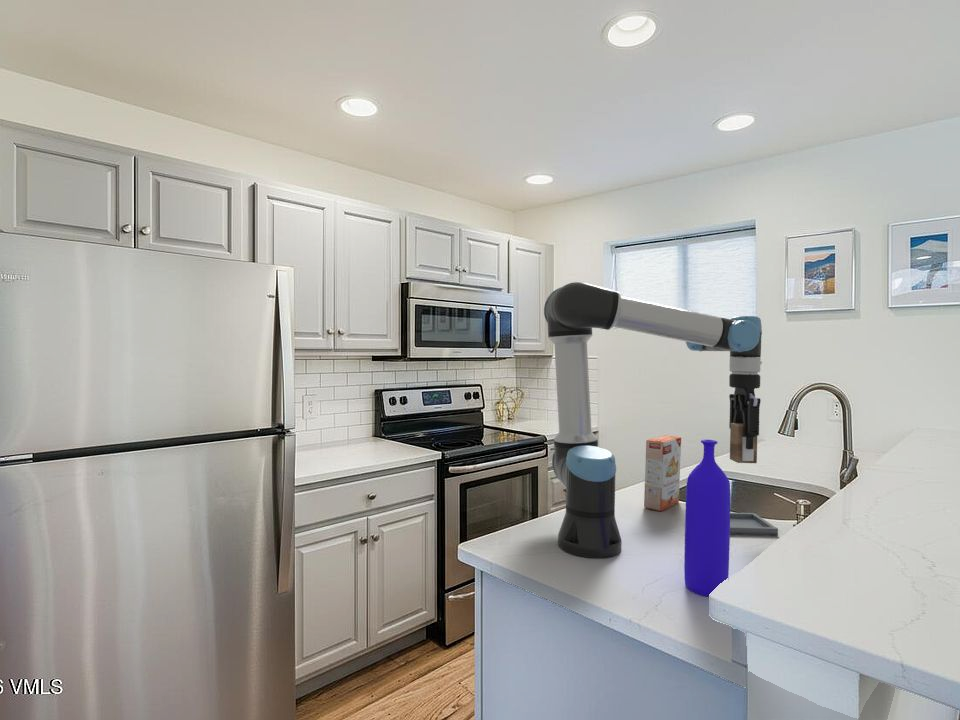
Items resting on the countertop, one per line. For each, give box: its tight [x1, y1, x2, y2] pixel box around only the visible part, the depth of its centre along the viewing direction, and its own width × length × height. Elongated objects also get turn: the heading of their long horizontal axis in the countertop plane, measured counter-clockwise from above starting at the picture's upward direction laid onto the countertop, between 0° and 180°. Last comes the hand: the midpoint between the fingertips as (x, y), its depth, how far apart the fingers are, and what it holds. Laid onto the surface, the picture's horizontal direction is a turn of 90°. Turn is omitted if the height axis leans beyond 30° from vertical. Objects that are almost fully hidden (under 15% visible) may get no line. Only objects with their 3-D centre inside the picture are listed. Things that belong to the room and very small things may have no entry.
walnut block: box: [729, 423, 758, 464], centre depth 144 cm, size 5×5×10 cm
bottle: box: [683, 439, 731, 598], centre depth 106 cm, size 8×8×30 cm
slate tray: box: [730, 512, 779, 537], centre depth 144 cm, size 13×13×2 cm
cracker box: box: [643, 434, 682, 512], centre depth 163 cm, size 14×6×21 cm, turn 138°
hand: (742, 458), depth 144 cm, fingers closed on walnut block, 5 cm apart
